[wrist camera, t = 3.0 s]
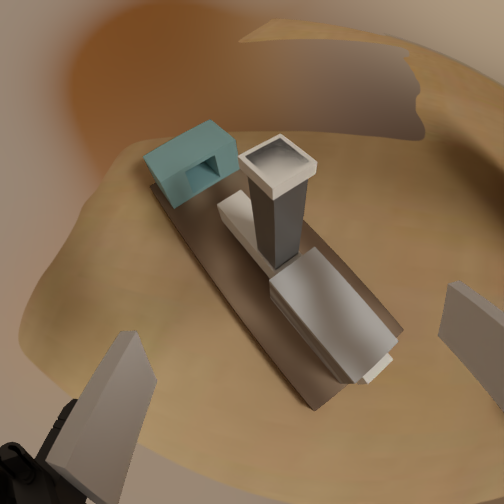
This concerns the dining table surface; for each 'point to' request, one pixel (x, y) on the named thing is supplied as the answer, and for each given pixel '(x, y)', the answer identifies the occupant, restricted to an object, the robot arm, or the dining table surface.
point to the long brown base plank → (290, 299)
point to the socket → (193, 162)
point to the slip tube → (275, 209)
